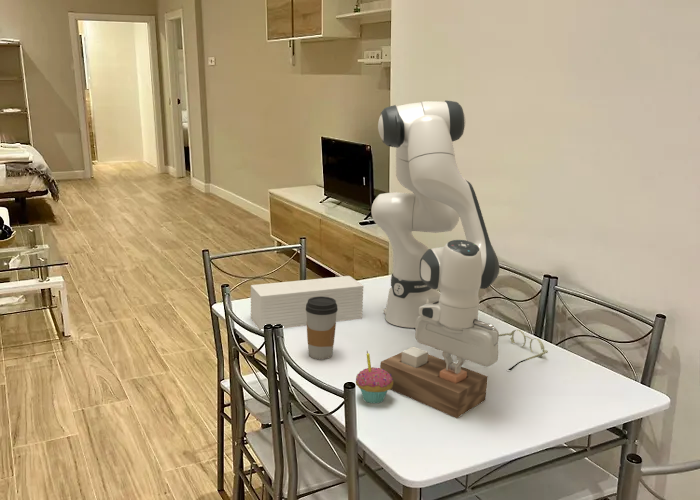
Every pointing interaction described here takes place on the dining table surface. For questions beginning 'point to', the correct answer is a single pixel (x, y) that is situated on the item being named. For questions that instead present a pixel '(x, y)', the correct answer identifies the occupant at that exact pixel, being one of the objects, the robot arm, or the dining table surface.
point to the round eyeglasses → (524, 344)
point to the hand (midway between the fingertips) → (453, 371)
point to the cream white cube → (414, 357)
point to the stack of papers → (304, 300)
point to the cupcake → (374, 383)
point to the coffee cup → (321, 326)
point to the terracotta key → (453, 376)
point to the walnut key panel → (436, 385)
